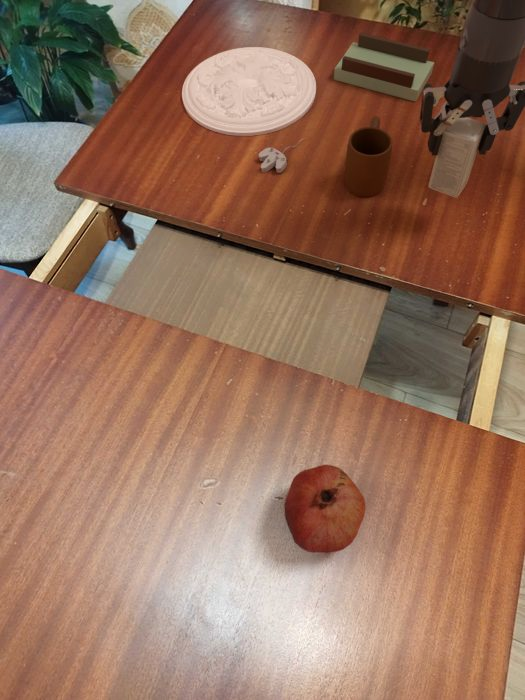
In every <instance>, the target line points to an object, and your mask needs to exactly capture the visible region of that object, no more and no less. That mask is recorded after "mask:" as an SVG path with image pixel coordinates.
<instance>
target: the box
mask: <svg viewBox="0 0 525 700" xmlns="http://www.w3.org/2000/svg"><path fill="white" fill-rule="evenodd" d="M486 125H487V123H485V122H483V121H479V120H476V119H473V118H471V117H466V118H458V119H457V120H456V121H455V122H454V124H453V125H451V126H448V127H447V128H446V130H445V131H444V132H443V133H442V136H443V137H442V140H441V144H440V147H439V151H438V154H437V156H435V158H434V161H433V166H432V170H431V174H430V178H429V182H428V186H427V187H428V188H429V189H431V190H433V191H435V192H439V193H442V194H443V195H447V196H449V197H453V198H455V199H457V198H458V197H459V196H460V194H461V193H462V191H463V190H464V189H465V187H466V185H467V184H468V182H469V178H470V176H471V172H472V169H473V167H474V163H475V160H476V157H477V154H478V152H479V151H478V148H479V145H480V142H481V139H482V136H483V133H484V129H485V126H486Z"/></svg>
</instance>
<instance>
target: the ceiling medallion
mask: <svg viewBox="0 0 525 700" xmlns="http://www.w3.org/2000/svg"><path fill="white" fill-rule="evenodd" d="M316 95H317V82H316V77H315V75H314V73H313V72H312V70H311V68H310V67H309V66H308V65H307V64H306V63H305V62H303V60H301V59H299V58H298V57H297V56H294V55H293V54H290V53H288V52H285V51H283V50H280V49H275V48H270V47H263V46H261V47H260V46H246V47H245V46H244V47H237V48H232V49H228V50H224V51H221V52H219V53H216V54H214V55H212V56H210V57H208V58H206V59H205V60H203V61H201V62H200V63H199V64H197V65H196V66H195V67H194V68H193V69H192V70H191V71H190V72H189V73H188V75H187V76H186V78H185V80H184V82H183V85H182V88H181V98H182V103H183V106H184V109H185V112H186V113H187V114H188V115H189V117H190V118H191V119H192V120H193V121H195V123H197V124H198V125H200V126H202V127H203V128H204V129H205V128H206V129H207V130H210V131H211V132H215V133H219V134H222V135H227V136H235V137H253V136H255V137H256V136H262V135H266V134H270V133H274V132H277V131H281V130H283V129H285V128H287V127H289V126H291V125H292V124H294V123H296V122H298V120H300V119H301V118H303V116H305V115H306V113H307V112H309V110H310V109H311V107H312V106H313V104H314V101H315V99H316Z"/></svg>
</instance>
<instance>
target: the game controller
mask: <svg viewBox="0 0 525 700" xmlns="http://www.w3.org/2000/svg"><path fill="white" fill-rule="evenodd" d="M306 139H307V138H305V137H304V138H303V140H304V141H306ZM301 141H302V139H300V140H299V141H298V142H297V144H295V145H294V146H293V148H295V147H297V146H298V144H299V143H301ZM289 148H292V146H291V145H290V146H288V147H286V148H284V150H283V152H285V151H287V149H289ZM283 152H281V151H280V150H278V149H277V148H274V147H266V148H264V149H263V150H261V151H260V152H259V153H258V158H259V161H260V162H262V163H261V164H260V169H261V172H262V173H267V172H269V171H270V170H271V169H273V168H274V167H275V170H276V173H278V174H282V173H283V171H284V170H286V169H285V168H287V166H288V162H287V157H286V155H285V154H284V153H283Z"/></svg>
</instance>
